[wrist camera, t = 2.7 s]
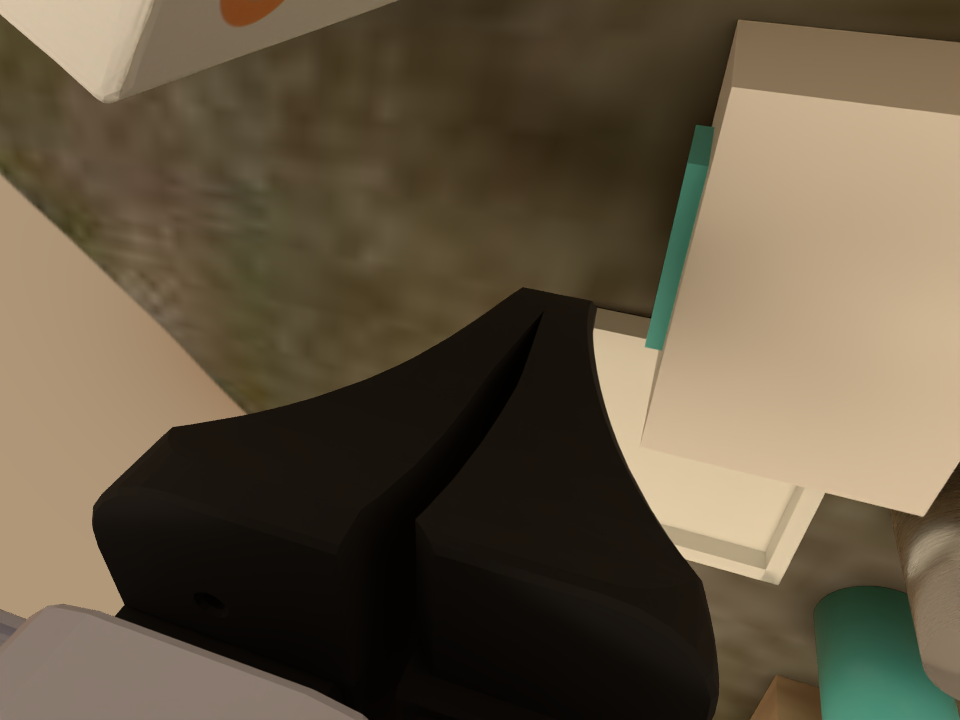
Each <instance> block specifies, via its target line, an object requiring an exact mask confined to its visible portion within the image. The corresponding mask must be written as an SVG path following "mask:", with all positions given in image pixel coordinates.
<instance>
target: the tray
mask: <svg viewBox="0 0 960 720" xmlns="http://www.w3.org/2000/svg"><path fill="white" fill-rule="evenodd" d="M650 321H651V319H650V318H645V317H640V316H635V315H630V314H625V313H620V312H616V311H611V310H606V309H601V308H597V313H596V319H595V325H594V330H593V343H594V354H595V360H596V366H597V373H598V378H599V383H600V387H601V391H602V395H603V399H604V403H605V407H606V410H607V413H608V416H609V419H610V423H611V425H612V428H613V431H614V434H615V436H616V439H617V441H618V444H619V446H620V449H621V451H622V453H623V456H624V458H625V460H626V463H627V465H628V467H629V469H630V471H631V473H632V475H633V477H634V478H635V480H636V482H637V484H638V486H639V488H640V490H641V491H642V493H643V495H644V497H645V499H646V501H647V503H648V504H649V506H650V508H651V510H652V511H653V513H654V515H655V516H656V518H657V519H658V521H659V522H660V524H661V526H662V527H663V529H664V530H665V532H666V533H667V535H668V536H669V538H670V539H671V541H672V542H673V544H674V545H675V546H676V548H677V549H678V551H679V552H680V553H681V555H682V556H683V557H684V559H687V560H690V561H694V562H698V563H701V564H705V565H708V566H712V567H715V568H719V569H723V570H726V571H730V572H733V573H737V574H740V575H744V576H748V577H751V578H755V579H758V580H762V581H765V582H769V583H773V584H776V585H779V583H780V581H781V579H782V577H783V575H784V573H785V571H786V569H787V567H788V565H789V563H790V561H791V559H792V557H793V555H794V553H795V551H796V549H797V547H798V545H799V544H800V542H801V540H802V538H803V536H804V534H805V532H806V530H807V528H808V526H809V524H810V522H811V520H812V518H813V516H814V514H815V512H816V510H817V508H818V506H819V504H820V502H821V500H822V498H823V496H824V494H825V492H821V491H817V490H813V489H809V488H805V487H801V486H797V485H793V484H789V483H785V482H781V481H777V480H772V479H768V478H764V477H760V476H756V475H752V474H748V473H744V472H740V471H736V470H732V469H728V468H724V467H720V466H716V465H712V464H708V463H704V462H700V461H696V460H692V459H688V458H684V457H680V456H675V455H671V454H667V453H663V452H659V451H655V450H651V449H647V448H643V447H640V443H641V438H642V433H643V428H644V423H645V418H646V412H647V407H648V402H649V397H650V392H651V387H652V382H653V377H654V372H655V366H656V361H657V356H658V351H659V350H656V349H651V348H647V347H645V343H646V339H647V334H648V330H649V326H650Z"/></svg>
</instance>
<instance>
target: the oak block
mask: <svg viewBox="0 0 960 720" xmlns="http://www.w3.org/2000/svg"><path fill="white" fill-rule="evenodd" d="M750 720H822V713H821V701H820V689H819V688H817V687H814V686H811V685H808V684H804V683H801V682H798V681H795V680H792V679H788V678H785V677H782V676H779V675H776V676H775V678H774V679H773V681H772V683H771V685H770V686H769V688H768V690H767V691H766V693H765V695H764V697H763V698H762V700H761V702H760V704H759V705H758V707H757V709H756V710H755V712H754V714H753V716H752V717H751V719H750Z"/></svg>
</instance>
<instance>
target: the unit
mask: <svg viewBox="0 0 960 720" xmlns="http://www.w3.org/2000/svg"><path fill="white" fill-rule="evenodd" d="M645 347H647V348H651V349H656V350H659V351H658V356H657V361H656V366H655V372H654V377H653V382H652V387H651V392H650V397H649V402H648V407H647V412H646V418H645V423H644V428H643V433H642V438H641V443H640V447H643V448H647V449H651V450H655V451H659V452H663V453H667V454H671V455H675V456H680V457H684V458H688V459H692V460H696V461H700V462H704V463H708V464H712V465H716V466H720V467H724V468H728V469H732V470H736V471H740V472H744V473H748V474H752V475H756V476H760V477H764V478H768V479H772V480H777V481H781V482H785V483H789V484H793V485H797V486H801V487H805V488H809V489H813V490H817V491H821V492H825V493H829V494H833V495H837V496H841V497H845V498H849V499H853V500H857V501H861V502H865V503H869V504H874V505H878V506H882V507H886V508H890V509H894V510H898V511H902V512H906V513H910V514H914V515H918V516H922V517H924V515H925V514H926V512H927V511H928V509H929V508H930V506H931V505H932V503H933V502H934V500H935V499H936V497H937V495H938V494H939V492H940V491H941V489H942V488H943V486H944V485H945V483H946V482H947V480H948V479H949V477H950V476H951V474H952V473H953V471H954V469H955V468H956V466H957V465H958V463H959V462H960V42H950V41H940V40H931V39H921V38H912V37H902V36H892V35H883V34H873V33H863V32H854V31H844V30H835V29H825V28H815V27H806V26H796V25H786V24H777V23H767V22H758V21H748V20H738V22H737V26H736V30H735V34H734V39H733V43H732V47H731V51H730V55H729V59H728V63H727V67H726V71H725V75H724V79H723V83H722V87H721V91H720V95H719V99H718V103H717V107H716V111H715V115H714V119H713V124H712V127H709V126H702V125H696V127H695V132H694V136H693V140H692V144H691V149H690V153H689V157H688V162H687V166H686V170H685V174H684V179H683V183H682V187H681V192H680V196H679V200H678V205H677V209H676V213H675V217H674V222H673V226H672V230H671V235H670V239H669V243H668V247H667V252H666V256H665V260H664V265H663V269H662V273H661V277H660V282H659V286H658V290H657V295H656V299H655V303H654V308H653V312H652V317H651V321H650V326H649V330H648V334H647V339H646V343H645Z"/></svg>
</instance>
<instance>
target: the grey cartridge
mask: <svg viewBox="0 0 960 720" xmlns="http://www.w3.org/2000/svg"><path fill="white" fill-rule="evenodd" d="M889 510H890V515H891V520H892V524H893V529H894V534H895V538H896V543H897V548H898V553H899V557H900V562H901V567H902V571H903V576H904V581H905V585H906V590H907V595H908V599H909V604H910V609H911V613H912V618H913V623H914V628H915V632H916V637H917V642H918V646H919V651H920V656H921V660H922V665H923V668H924V671H925V673H926V675H927V676H928V678H929V679H930V680H931V681H932V682H933V683H934V685H936V686H937V687H938V688H939V689H940V690H942V691H943V692H945V693H946V694H948V695H949V696H951V697H953V698H955V699H957V700H959V701H960V462H959V463H958V465H957V466H956V468H955V469H954V471H953V473H952V474H951V476H950V477H949V479H948V480H947V482H946V483H945V485H944V486H943V488H942V489H941V491H940V492H939V494H938V495H937V497H936V499H935V500H934V502H933V503H932V505H931V506H930V508H929V509H928V511H927V512H926V514H925V515H924V517H922V516H918V515H914V514H910V513H906V512H902V511H898V510H894V509H890V508H889Z"/></svg>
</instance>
